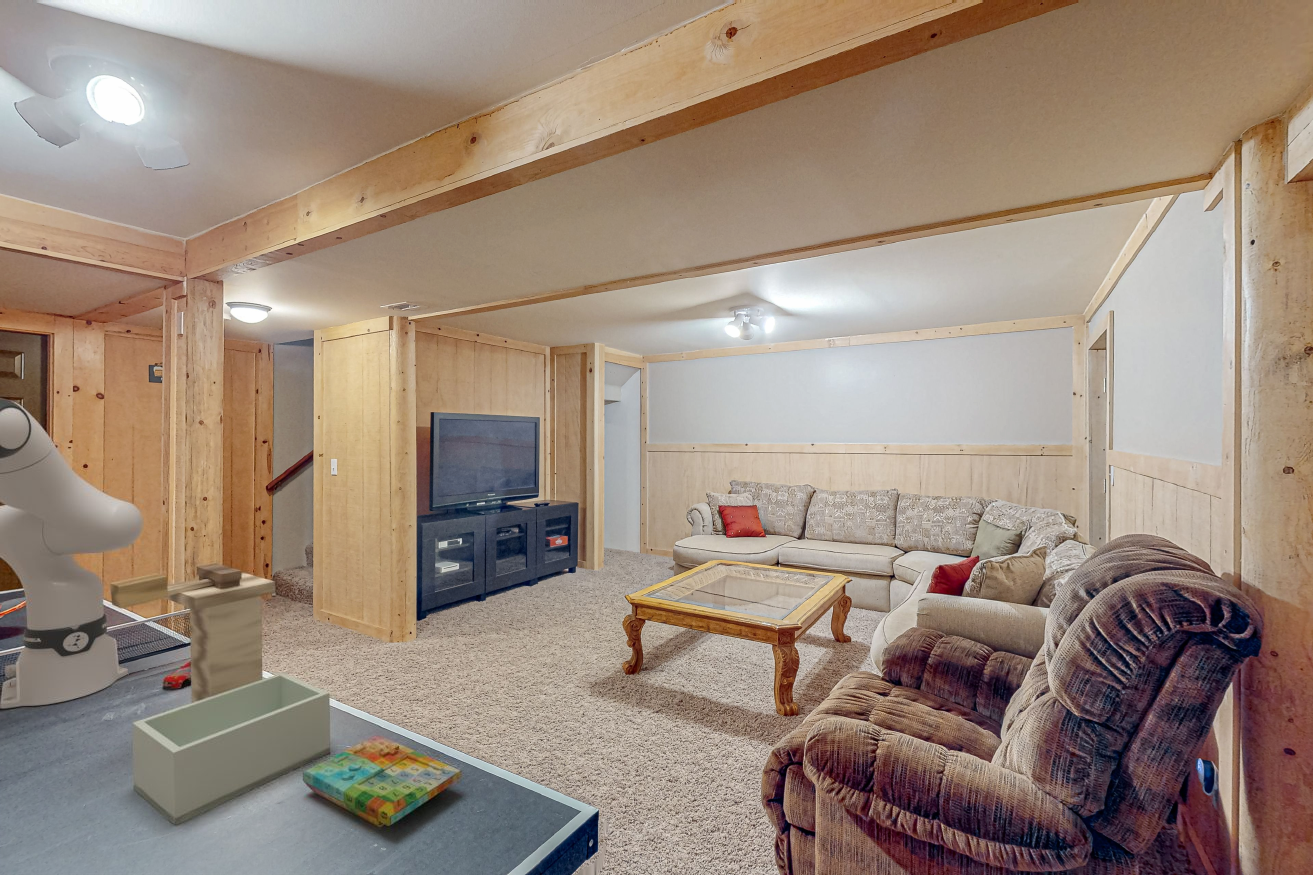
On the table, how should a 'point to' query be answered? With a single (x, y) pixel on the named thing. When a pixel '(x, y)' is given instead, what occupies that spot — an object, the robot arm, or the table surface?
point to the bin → (228, 744)
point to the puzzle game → (380, 780)
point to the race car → (179, 678)
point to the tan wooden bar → (148, 589)
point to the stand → (224, 629)
